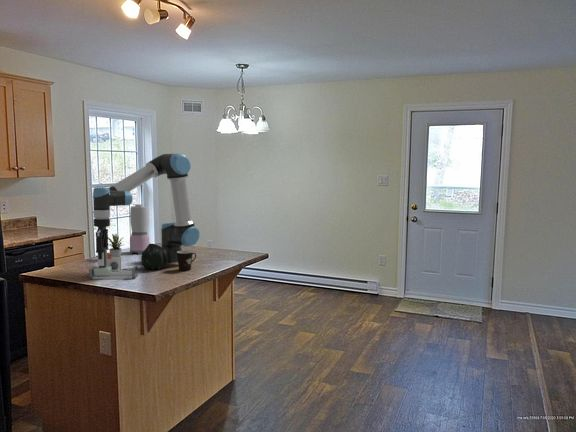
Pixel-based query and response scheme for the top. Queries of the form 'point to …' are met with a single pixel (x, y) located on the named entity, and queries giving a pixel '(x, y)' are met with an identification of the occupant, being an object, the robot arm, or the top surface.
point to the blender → (139, 228)
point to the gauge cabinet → (114, 263)
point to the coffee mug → (185, 260)
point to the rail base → (115, 274)
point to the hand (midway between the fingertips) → (102, 264)
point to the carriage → (103, 267)
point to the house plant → (115, 246)
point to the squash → (154, 257)
